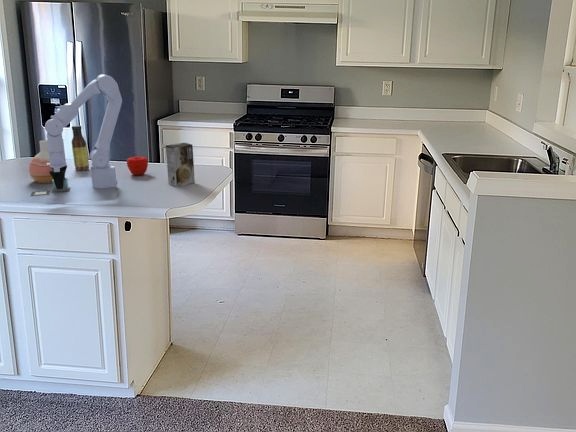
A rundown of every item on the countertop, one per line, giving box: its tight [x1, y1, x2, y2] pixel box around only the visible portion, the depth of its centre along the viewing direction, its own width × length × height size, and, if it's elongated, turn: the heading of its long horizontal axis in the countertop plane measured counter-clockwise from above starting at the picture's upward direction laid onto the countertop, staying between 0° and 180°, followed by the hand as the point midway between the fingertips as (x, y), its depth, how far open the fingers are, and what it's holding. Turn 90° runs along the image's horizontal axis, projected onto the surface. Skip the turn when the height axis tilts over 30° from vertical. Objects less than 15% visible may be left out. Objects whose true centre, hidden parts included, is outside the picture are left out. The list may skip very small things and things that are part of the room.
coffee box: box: [165, 142, 196, 187], centre depth 229 cm, size 9×6×16 cm
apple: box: [126, 156, 149, 176], centre depth 246 cm, size 9×9×8 cm
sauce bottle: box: [71, 125, 90, 172], centre depth 255 cm, size 7×6×20 cm
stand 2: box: [50, 186, 71, 194], centre depth 216 cm, size 7×7×1 cm
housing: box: [51, 177, 69, 193], centre depth 216 cm, size 5×5×4 cm
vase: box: [28, 139, 53, 184], centre depth 229 cm, size 14×14×18 cm
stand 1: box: [30, 190, 52, 197], centre depth 212 cm, size 7×7×1 cm
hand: (60, 186), depth 216 cm, fingers open, 7 cm apart
